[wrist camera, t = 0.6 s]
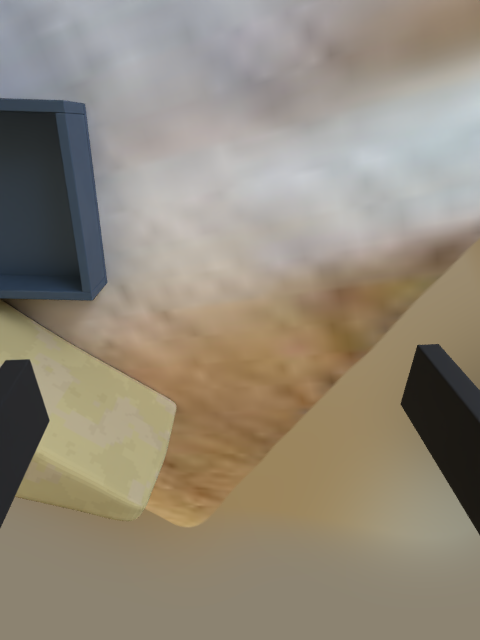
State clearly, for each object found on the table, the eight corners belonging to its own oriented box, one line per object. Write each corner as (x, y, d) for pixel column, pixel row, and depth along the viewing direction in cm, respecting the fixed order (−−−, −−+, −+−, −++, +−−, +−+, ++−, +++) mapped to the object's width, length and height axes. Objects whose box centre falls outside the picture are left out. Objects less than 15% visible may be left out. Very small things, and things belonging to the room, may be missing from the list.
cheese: (193, 376, 44) (174, 486, 31) (159, 436, 48) (128, 557, 34) (-9, 288, 40) (-136, 372, 26) (-30, 362, 43) (-150, 469, 30)
